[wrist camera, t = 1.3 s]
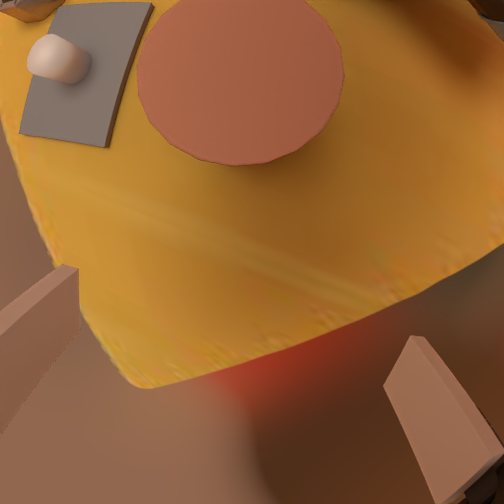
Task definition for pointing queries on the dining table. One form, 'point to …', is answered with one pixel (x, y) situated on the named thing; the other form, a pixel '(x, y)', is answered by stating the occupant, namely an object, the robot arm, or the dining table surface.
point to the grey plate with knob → (82, 71)
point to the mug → (29, 9)
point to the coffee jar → (240, 78)
